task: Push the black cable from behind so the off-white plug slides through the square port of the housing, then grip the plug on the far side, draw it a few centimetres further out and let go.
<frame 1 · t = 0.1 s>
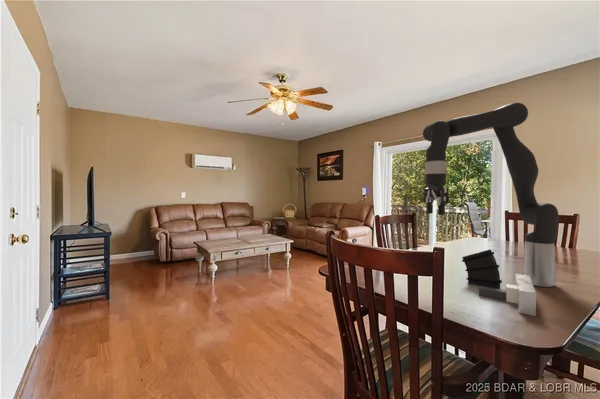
hand: (435, 214, 110), 29 cm above the table, tool pointing down, fingers open, 8 cm apart
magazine: (480, 286, 112), on the table
plug: (513, 301, 96), on the table
housing: (524, 302, 94), on the table
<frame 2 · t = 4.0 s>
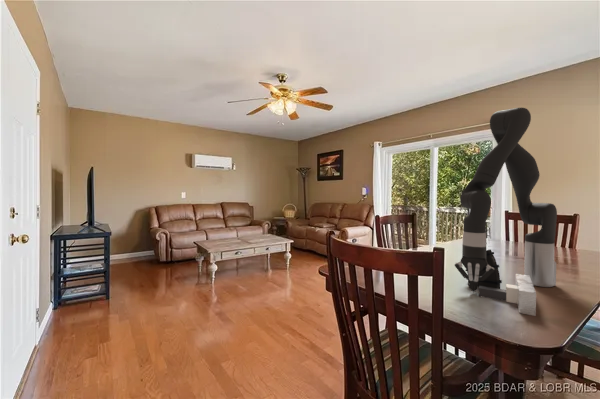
hand: (473, 290, 103), 1 cm above the table, tool pointing down, fingers closed
plug: (513, 300, 96), on the table, touching gripper
everything else where it was.
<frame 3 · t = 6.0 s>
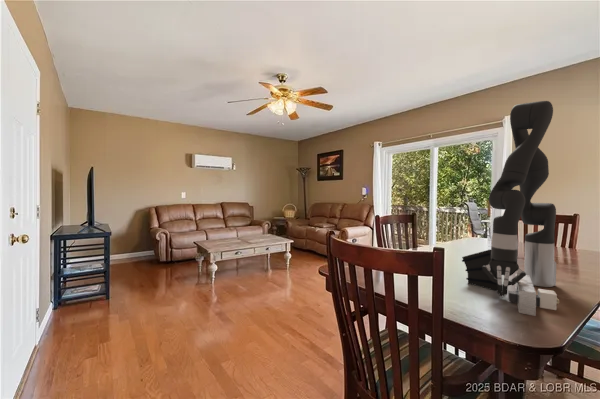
hand: (502, 295, 98), 1 cm above the table, tool pointing down, fingers closed
plug: (546, 306, 91), on the table
everything else where it was.
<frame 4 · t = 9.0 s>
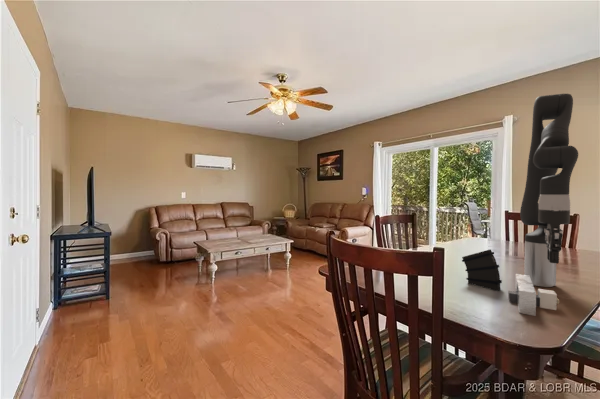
hand: (552, 261, 90), 15 cm above the table, tool pointing down, fingers open, 3 cm apart
nothing on the table moved.
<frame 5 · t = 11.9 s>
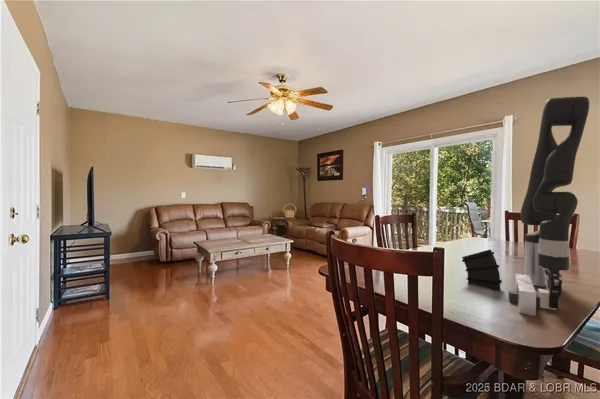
hand: (552, 305, 90), 1 cm above the table, tool pointing down, fingers closed on plug, 4 cm apart
plug: (546, 306, 91), on the table, touching gripper
everything else where it was.
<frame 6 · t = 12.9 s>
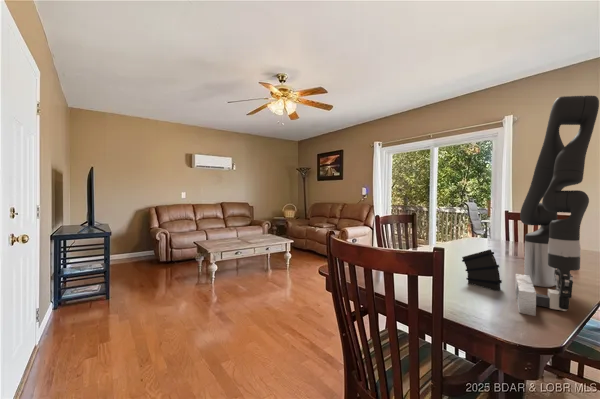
hand: (562, 305, 89), 1 cm above the table, tool pointing down, fingers closed on plug, 4 cm apart
plug: (556, 307, 89), on the table, touching gripper
everything else where it was.
when the fingers open (1 cm above the table, at t = 14.0 s): plug stays where it is, on the table.
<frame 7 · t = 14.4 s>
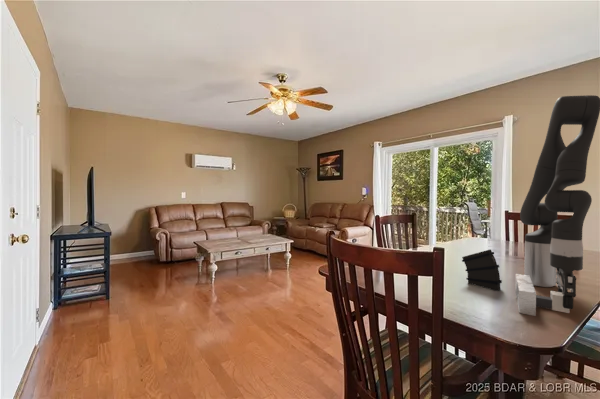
hand: (565, 303, 88), 2 cm above the table, tool pointing down, fingers open, 8 cm apart
plug: (559, 309, 89), on the table
everything else where it was.
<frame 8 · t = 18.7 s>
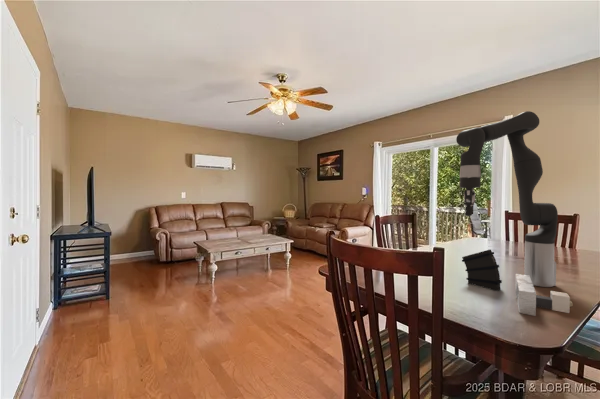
hand: (469, 214, 117), 28 cm above the table, tool pointing down, fingers open, 8 cm apart
nothing on the table moved.
at the end: plug inside the target area on the table beside the housing (0.4 cm from its centre), on the table; plug 8.8 cm from the housing (horizontally); the gripper is holding nothing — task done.
